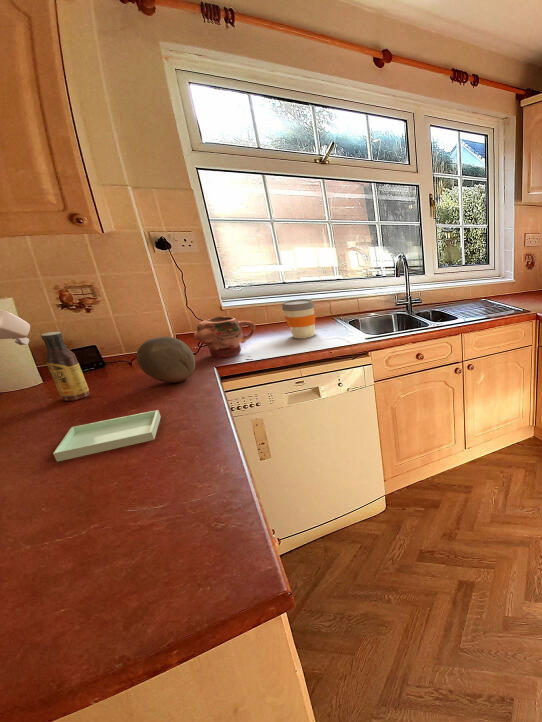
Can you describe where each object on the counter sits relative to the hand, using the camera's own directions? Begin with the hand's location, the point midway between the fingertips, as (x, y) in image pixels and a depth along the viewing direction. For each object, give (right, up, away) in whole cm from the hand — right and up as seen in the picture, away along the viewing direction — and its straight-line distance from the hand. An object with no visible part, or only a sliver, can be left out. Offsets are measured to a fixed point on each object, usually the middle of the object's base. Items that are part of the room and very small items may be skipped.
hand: (4, 343), depth 109 cm
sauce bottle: (+1, -15, +17) cm, 23 cm away
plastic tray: (+34, -23, -6) cm, 42 cm away
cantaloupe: (+21, -10, +28) cm, 37 cm away
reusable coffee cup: (+38, +11, +80) cm, 89 cm away
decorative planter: (+21, +1, +56) cm, 60 cm away
